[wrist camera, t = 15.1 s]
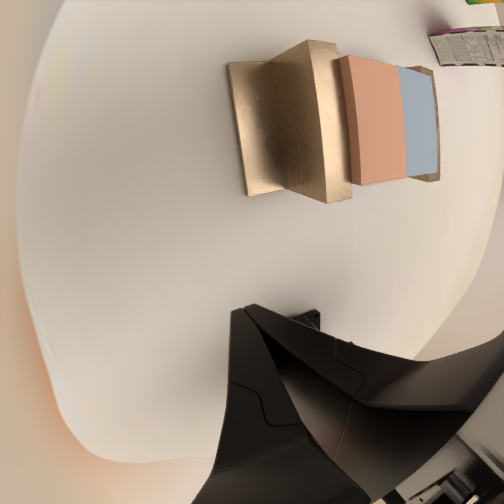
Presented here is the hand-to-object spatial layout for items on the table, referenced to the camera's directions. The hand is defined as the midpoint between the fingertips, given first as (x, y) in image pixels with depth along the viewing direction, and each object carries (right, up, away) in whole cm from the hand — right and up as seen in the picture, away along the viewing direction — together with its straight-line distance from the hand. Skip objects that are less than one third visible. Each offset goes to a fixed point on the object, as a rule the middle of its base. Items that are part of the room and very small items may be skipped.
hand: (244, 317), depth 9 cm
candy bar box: (+27, +31, +12) cm, 43 cm away
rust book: (+6, +13, +11) cm, 18 cm away
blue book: (+10, +14, +12) cm, 21 cm away
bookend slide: (+2, +11, +10) cm, 15 cm away
